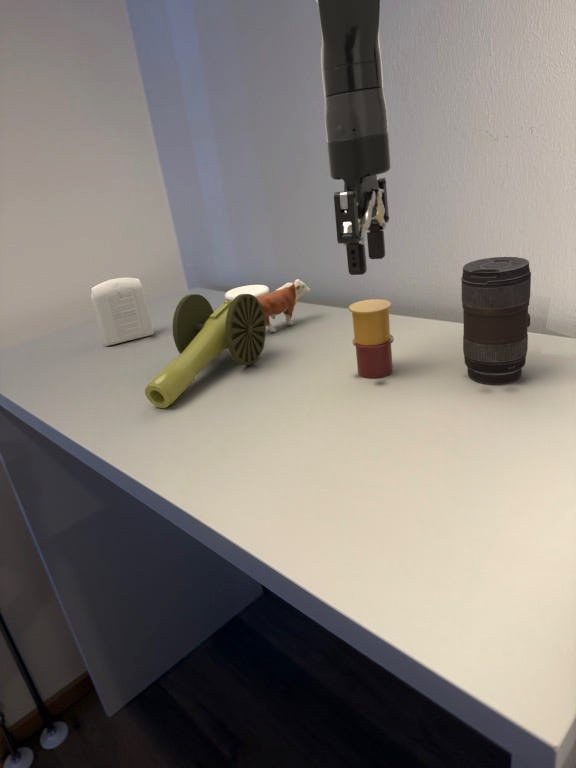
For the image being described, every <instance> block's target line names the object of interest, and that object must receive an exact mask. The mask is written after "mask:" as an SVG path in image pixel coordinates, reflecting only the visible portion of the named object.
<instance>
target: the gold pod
mask: <svg viewBox="0 0 576 768" xmlns="http://www.w3.org/2000/svg"><path fill="white" fill-rule="evenodd" d="M391 307H392V303H391V301H389V300H387V299H378V298H377V299H374V298H373V299H371V298H370V299H364V300H360V301H356V302H353V303H351V304H350V305H349V306H348V311H349V312H350V313H352V314H351V315H352V326H353V339H354V338H355V342H356V343H357V344H359V345H366V346H372V345H379V344H383V343H385V342H387V341H389V340H390V334H391V328H390V327H391V326H390V309H391Z"/></svg>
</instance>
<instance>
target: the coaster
mask: <svg viewBox="0 0 576 768" xmlns="http://www.w3.org/2000/svg"><path fill="white" fill-rule="evenodd" d="M268 293H270V288H269V287H268V286H267V285H265V284H249V285H243V286H238V287H235V288H232V289H229V290H228V291H226V292H225V293H224V298H225V301H226V300H227V299H229V300H232V301H233V300H234V298H235V297H237V296H238V295H240V294H251V295H253V296H254V297H258V296H261V295H265V294H268Z"/></svg>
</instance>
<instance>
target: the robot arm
mask: <svg viewBox="0 0 576 768" xmlns="http://www.w3.org/2000/svg"><path fill="white" fill-rule="evenodd" d="M315 2H316V3H317V8H318V15H319V16H318V17H319V25H320V32H321V50H320V68H321V78H322V88H323V97H324V127H325V138H326V148H327V156H328V167H329V176H330V178H331V179H333V180H342V181H343V183H344V184H343V190H342V191H335V192H334V193H333V203H334V205H333V206H334V215H335V216H334V217H335V218H334V219H335V227H336V240H337V241H336V242H337V244H339V245H341V244H343V246H345V248H346V259H347V268H348V269H347V270H348V273H349V275H351V276H362V275H365V274H366V273H367V271H368V269H367V268H368V267H367V257H366V245H365V241H366V240H367V251H368V252H367V253H368V258H369V259H370V260H382V259H384V258H385V257H386V243H385V229H386V227H387V224H388V223H389V220H390V216H389V214H390V213H389V203H388V191H387V190H388V189H387V180H386V177H378V175H383V174H385V173H388V172H389V171H390V169H391V155H390V152H391V151H390V136H389V119H388V107H387V101H386V97H385V91H384V77H383V63H382V60H383V59H382V51H381V44H380V25H381V24H380V23H381V0H315ZM366 231H367V232H366Z"/></svg>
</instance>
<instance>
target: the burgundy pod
mask: <svg viewBox="0 0 576 768" xmlns="http://www.w3.org/2000/svg"><path fill="white" fill-rule="evenodd" d="M394 340H395V339H394V335H392V334H391V333H390V340H389V341H387V342H385V343H383V344H379V345H372V346H366V345H359V344H357V343H356V342H355V338H354V337H353V338H352V340H351V341H352V345H353V346H354V347H355V353H356V366H357V374H358V375H359V376H360V377H362V378H366V379H381V378H385V377H388V376H390V375H391V374H392V373H393V371H394V370H393V353H392V352H393V351H392V343H394Z"/></svg>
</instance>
